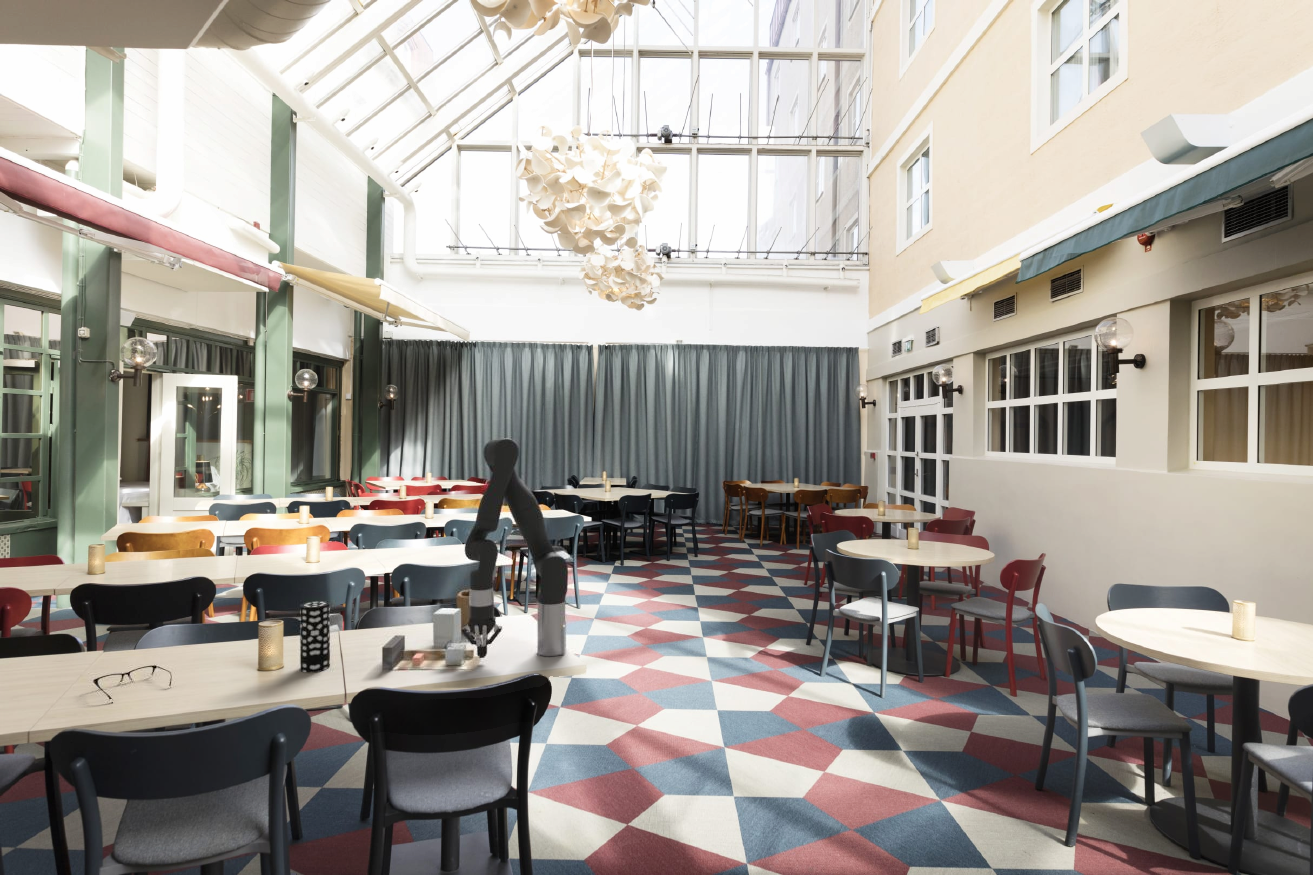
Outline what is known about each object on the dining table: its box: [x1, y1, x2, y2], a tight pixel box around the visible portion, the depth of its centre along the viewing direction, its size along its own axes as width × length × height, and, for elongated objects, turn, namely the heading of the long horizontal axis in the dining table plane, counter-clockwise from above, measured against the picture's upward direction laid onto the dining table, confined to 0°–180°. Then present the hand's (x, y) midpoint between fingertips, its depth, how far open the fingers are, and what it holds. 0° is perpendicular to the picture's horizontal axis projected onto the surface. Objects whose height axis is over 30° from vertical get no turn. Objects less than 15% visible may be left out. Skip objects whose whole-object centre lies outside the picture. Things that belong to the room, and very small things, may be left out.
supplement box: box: [432, 607, 462, 648], centre depth 238 cm, size 7×7×13 cm
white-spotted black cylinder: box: [299, 600, 331, 674], centre depth 217 cm, size 8×8×20 cm
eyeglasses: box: [92, 664, 173, 700], centre depth 199 cm, size 16×16×4 cm
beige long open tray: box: [381, 634, 483, 672], centre depth 218 cm, size 28×12×8 cm, turn 93°
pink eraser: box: [412, 654, 424, 666], centre depth 217 cm, size 2×4×2 cm, turn 3°
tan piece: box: [456, 588, 497, 631], centre depth 259 cm, size 15×12×15 cm
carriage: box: [443, 639, 467, 665], centre depth 218 cm, size 5×6×6 cm
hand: (482, 657), depth 218 cm, fingers closed
